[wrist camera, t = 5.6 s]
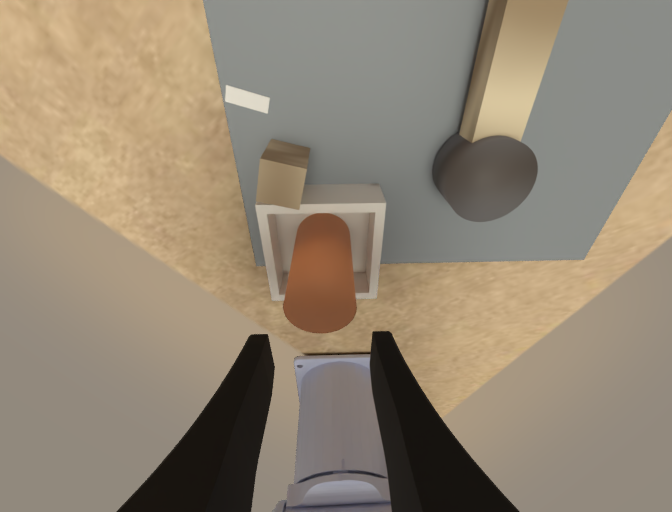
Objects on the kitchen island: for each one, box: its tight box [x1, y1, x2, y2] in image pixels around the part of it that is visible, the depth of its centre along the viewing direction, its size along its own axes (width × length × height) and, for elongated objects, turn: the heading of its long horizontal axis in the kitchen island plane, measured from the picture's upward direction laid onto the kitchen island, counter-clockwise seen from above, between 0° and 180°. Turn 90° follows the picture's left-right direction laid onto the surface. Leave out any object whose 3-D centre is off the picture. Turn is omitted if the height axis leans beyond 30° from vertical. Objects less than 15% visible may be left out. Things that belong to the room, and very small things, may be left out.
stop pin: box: [283, 213, 357, 333], centre depth 16 cm, size 3×3×6 cm
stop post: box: [256, 139, 310, 210], centre depth 15 cm, size 2×2×3 cm
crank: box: [433, 0, 569, 222], centre depth 12 cm, size 14×4×4 cm, turn 0°
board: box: [203, 0, 672, 266], centre depth 15 cm, size 19×22×1 cm
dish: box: [255, 184, 386, 301], centre depth 17 cm, size 6×6×2 cm
